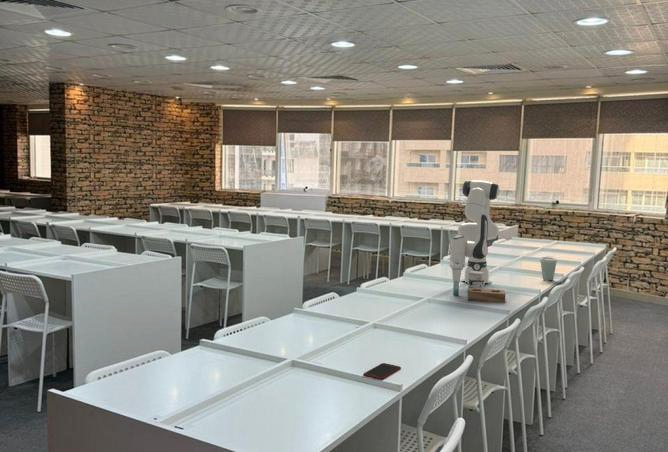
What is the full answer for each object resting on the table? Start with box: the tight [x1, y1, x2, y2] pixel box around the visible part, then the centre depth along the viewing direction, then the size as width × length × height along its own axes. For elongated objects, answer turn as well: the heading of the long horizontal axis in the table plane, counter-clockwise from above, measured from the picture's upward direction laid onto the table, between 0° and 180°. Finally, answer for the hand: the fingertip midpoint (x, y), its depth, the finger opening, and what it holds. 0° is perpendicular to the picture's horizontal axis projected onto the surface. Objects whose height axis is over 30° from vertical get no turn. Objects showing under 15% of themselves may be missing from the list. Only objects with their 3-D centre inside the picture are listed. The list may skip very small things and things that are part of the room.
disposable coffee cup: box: [540, 256, 558, 281], centre depth 380 cm, size 11×11×15 cm
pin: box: [452, 282, 460, 297], centre depth 330 cm, size 3×3×8 cm
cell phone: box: [363, 362, 402, 381], centre depth 200 cm, size 8×15×1 cm, turn 146°
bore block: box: [467, 287, 506, 304], centre depth 319 cm, size 12×20×5 cm, turn 75°
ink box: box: [467, 271, 485, 289], centre depth 341 cm, size 8×5×12 cm, turn 62°
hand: (456, 287), depth 329 cm, fingers open, 8 cm apart
